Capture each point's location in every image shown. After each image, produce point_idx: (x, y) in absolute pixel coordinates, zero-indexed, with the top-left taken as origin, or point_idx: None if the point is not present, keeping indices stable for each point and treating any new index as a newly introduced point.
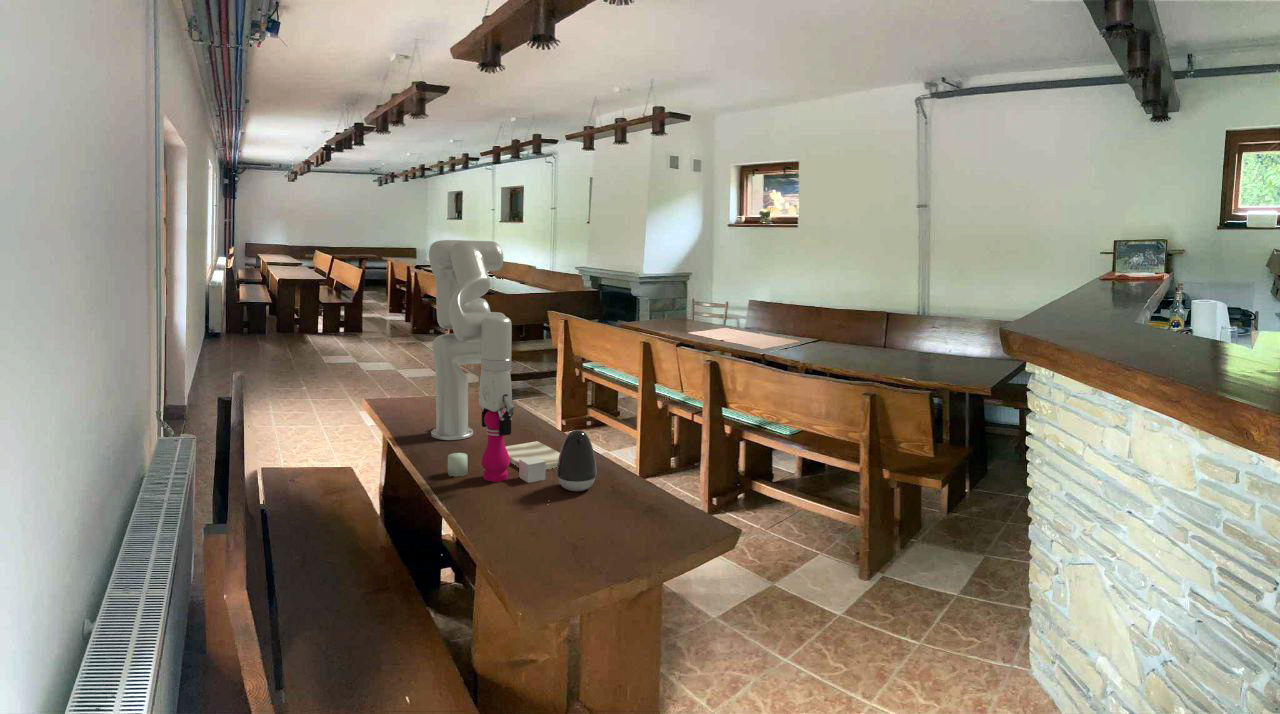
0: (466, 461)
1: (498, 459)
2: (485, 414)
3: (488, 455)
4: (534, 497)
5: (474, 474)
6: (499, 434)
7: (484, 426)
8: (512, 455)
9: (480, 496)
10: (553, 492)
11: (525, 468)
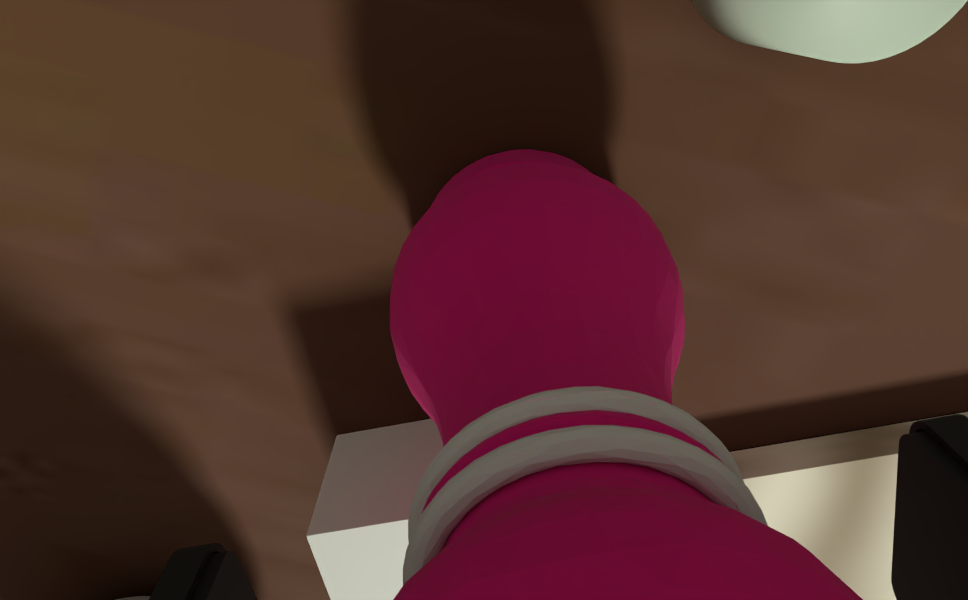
0: (760, 32)
1: (395, 333)
2: None
3: (463, 255)
4: (27, 396)
5: (688, 100)
6: (178, 558)
7: (899, 447)
8: (882, 487)
9: (100, 9)
10: (111, 523)
11: (369, 492)
